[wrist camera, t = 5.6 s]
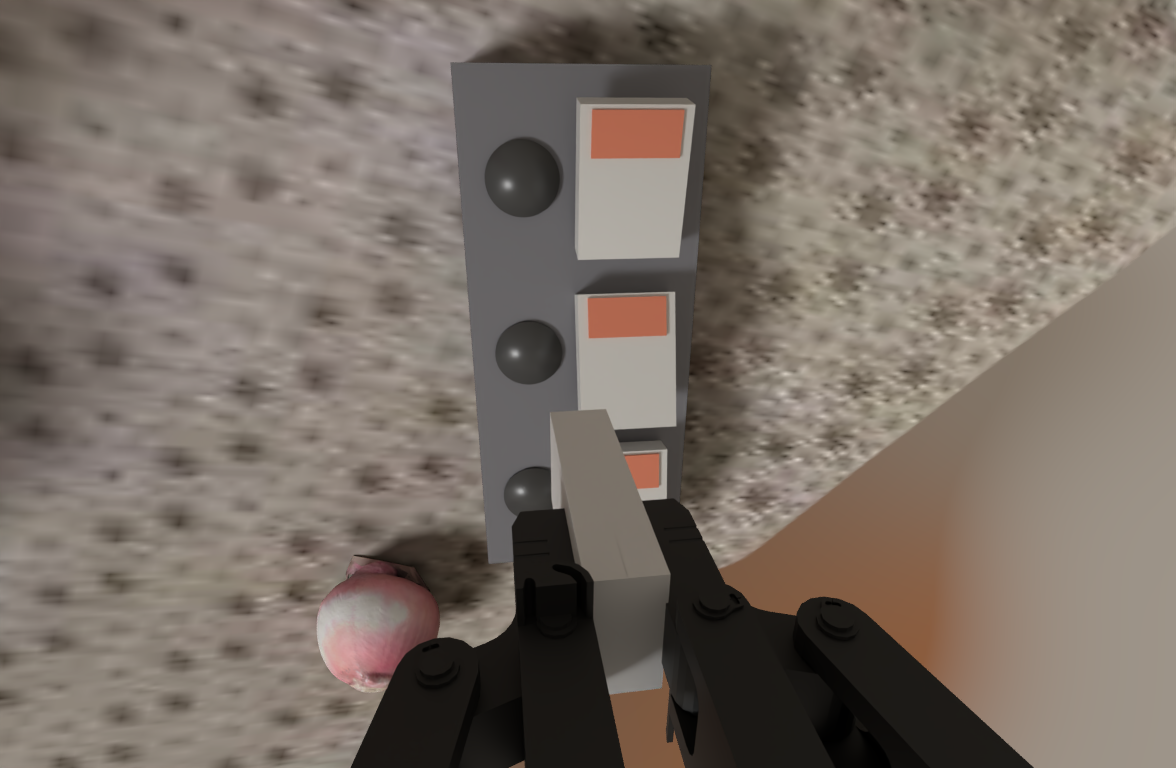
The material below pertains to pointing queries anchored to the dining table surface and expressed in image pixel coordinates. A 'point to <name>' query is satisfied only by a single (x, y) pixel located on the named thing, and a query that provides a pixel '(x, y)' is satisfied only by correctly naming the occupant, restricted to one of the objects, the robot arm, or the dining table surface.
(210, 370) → the dining table surface
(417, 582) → the onion
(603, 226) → the rocker
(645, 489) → the rocker
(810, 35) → the dining table surface
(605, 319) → the rocker
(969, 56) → the dining table surface
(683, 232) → the switch panel
